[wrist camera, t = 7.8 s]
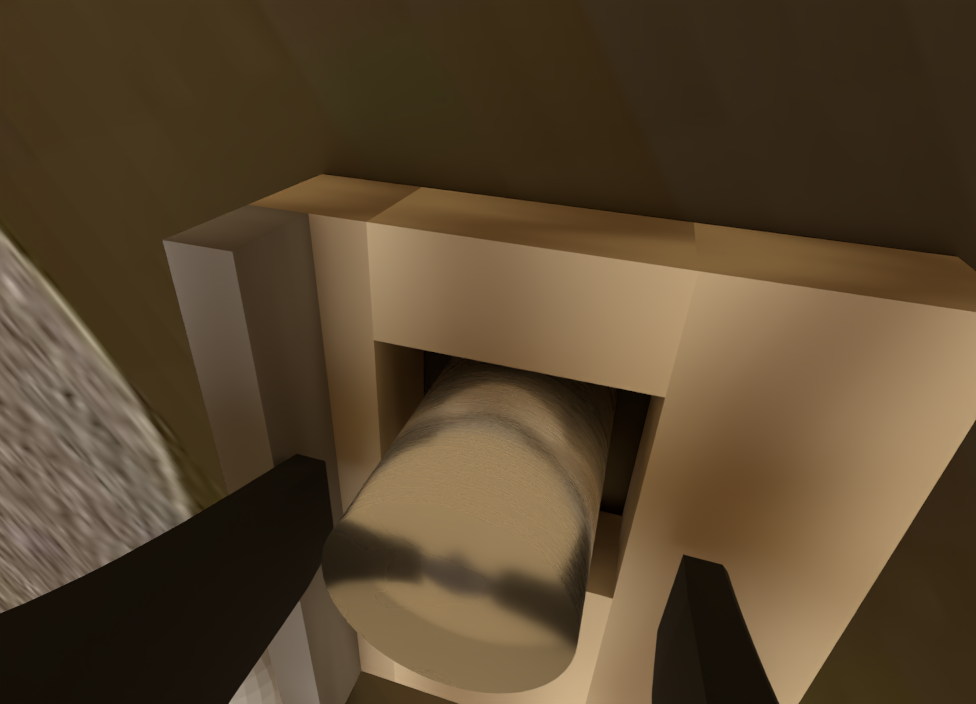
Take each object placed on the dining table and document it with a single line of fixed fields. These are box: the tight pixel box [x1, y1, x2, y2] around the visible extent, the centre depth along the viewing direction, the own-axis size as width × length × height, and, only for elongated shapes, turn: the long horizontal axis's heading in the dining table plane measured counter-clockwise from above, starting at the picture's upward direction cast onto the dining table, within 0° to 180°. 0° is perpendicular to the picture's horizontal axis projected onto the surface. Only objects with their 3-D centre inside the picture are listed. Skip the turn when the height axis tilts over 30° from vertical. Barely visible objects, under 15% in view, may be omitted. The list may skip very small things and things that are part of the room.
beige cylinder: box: [322, 356, 617, 694], centre depth 11 cm, size 4×4×6 cm
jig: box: [163, 174, 976, 704], centre depth 12 cm, size 12×14×4 cm
